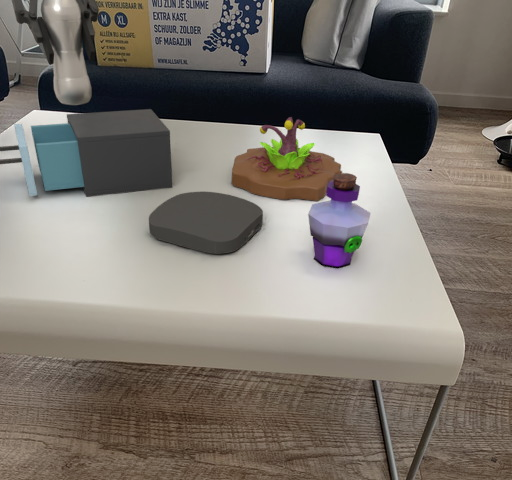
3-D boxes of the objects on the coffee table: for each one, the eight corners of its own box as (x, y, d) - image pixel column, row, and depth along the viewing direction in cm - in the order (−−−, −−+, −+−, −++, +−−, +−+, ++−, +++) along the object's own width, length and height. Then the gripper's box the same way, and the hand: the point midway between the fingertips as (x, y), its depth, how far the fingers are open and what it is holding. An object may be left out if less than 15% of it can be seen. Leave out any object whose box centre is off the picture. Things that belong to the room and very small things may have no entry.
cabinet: (86, 196, 89) (77, 137, 83) (75, 169, 98) (66, 114, 92) (172, 187, 94) (169, 130, 88) (154, 162, 103) (151, 108, 97)
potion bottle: (344, 281, 72) (359, 195, 65) (290, 259, 76) (298, 176, 69) (373, 257, 78) (390, 175, 70) (322, 238, 82) (333, 159, 74)
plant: (217, 191, 94) (217, 124, 87) (245, 154, 109) (247, 94, 102) (332, 207, 91) (342, 139, 84) (345, 167, 106) (354, 106, 99)
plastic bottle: (98, 100, 102) (83, -29, 89) (85, 110, 96) (66, -25, 84) (65, 97, 102) (45, -31, 90) (50, 107, 97) (26, -28, 84)
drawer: (-5, 199, 85) (-18, 149, 80) (-7, 173, 93) (-19, 126, 88) (115, 187, 91) (109, 139, 86) (102, 163, 99) (97, 118, 94)
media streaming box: (139, 237, 79) (137, 218, 77) (189, 201, 90) (188, 183, 88) (229, 261, 75) (229, 241, 73) (270, 220, 86) (271, 202, 84)
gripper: (85, -50, 100) (123, 67, 99) (-28, -52, 92) (13, 75, 91) (89, -85, 93) (130, 40, 92) (-33, -92, 85) (11, 45, 84)
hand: (72, 57), depth 92 cm, fingers closed on plastic bottle, 6 cm apart
